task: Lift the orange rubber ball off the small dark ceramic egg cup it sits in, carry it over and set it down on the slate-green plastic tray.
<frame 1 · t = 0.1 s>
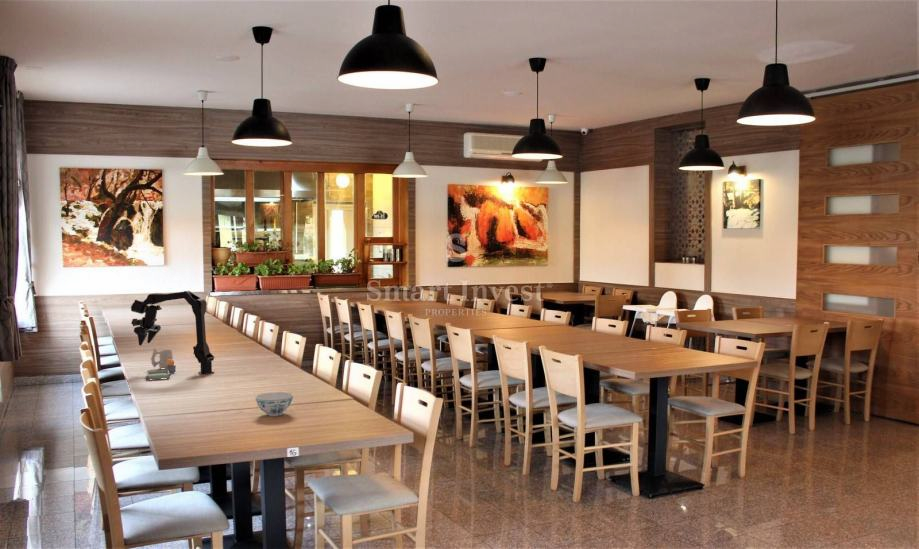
hand: (144, 344, 422), 15 cm above the table, tool pointing down, fingers open, 9 cm apart
tray: (158, 377, 408), on the table
chinaware: (274, 414, 320), on the table
cup: (170, 372, 421), on the table
mug: (162, 368, 436), on the table
ball: (170, 362, 421), point 5 cm above the table, touching cup
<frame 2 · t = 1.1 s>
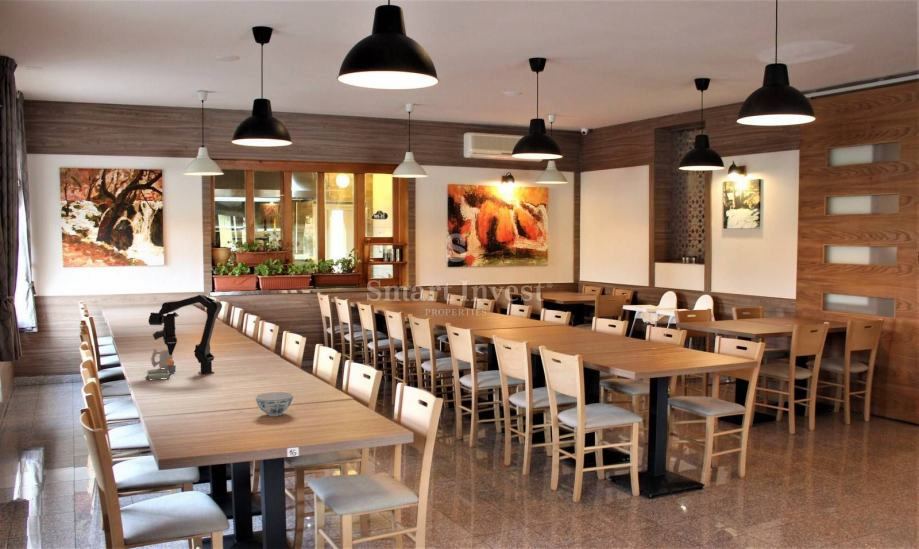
hand: (170, 354, 421), 10 cm above the table, tool pointing down, fingers open, 9 cm apart
nothing on the table moved.
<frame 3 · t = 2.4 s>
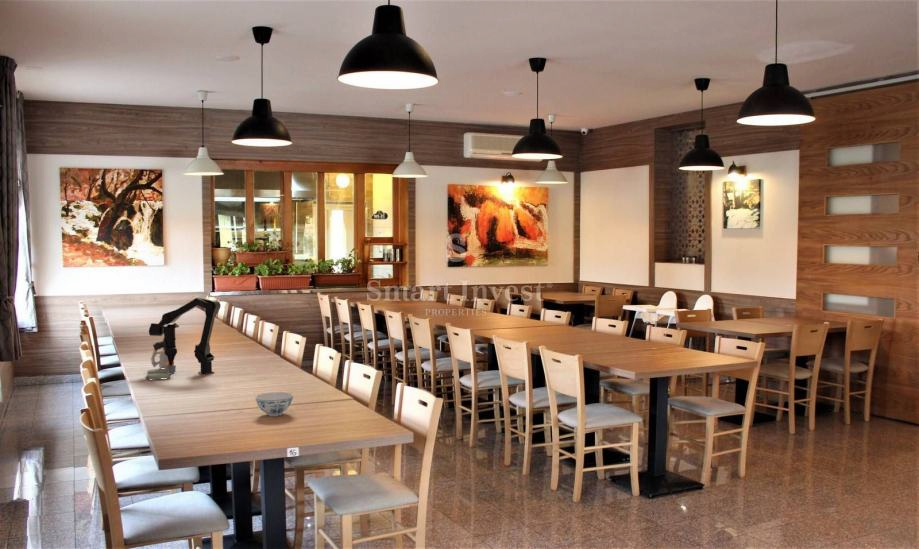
hand: (170, 364, 421), 4 cm above the table, tool pointing down, fingers closed on ball, 4 cm apart
ball: (170, 362, 421), point 5 cm above the table, touching cup, gripper
everything else where it was.
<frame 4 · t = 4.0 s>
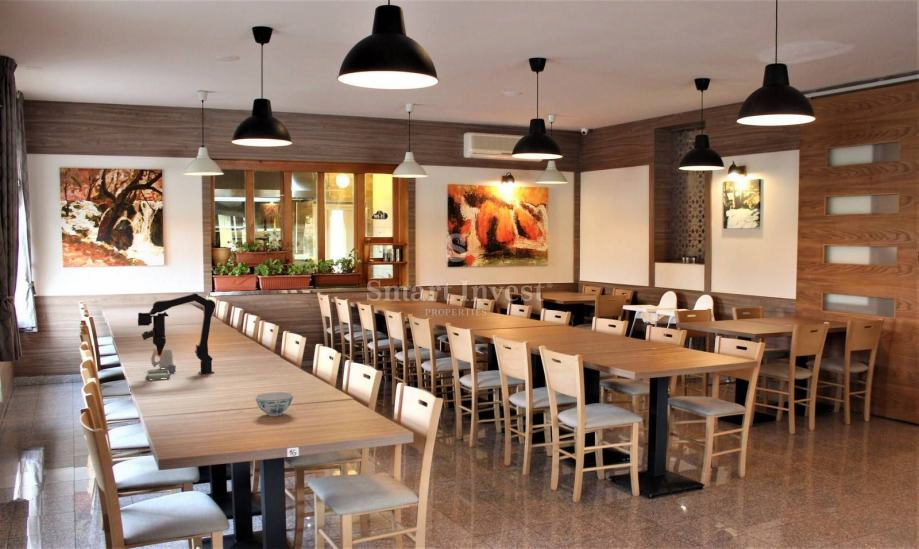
hand: (159, 354, 410), 11 cm above the table, tool pointing down, fingers closed on ball, 4 cm apart
ball: (159, 352, 410), point 13 cm above the table, touching gripper
everything else where it was.
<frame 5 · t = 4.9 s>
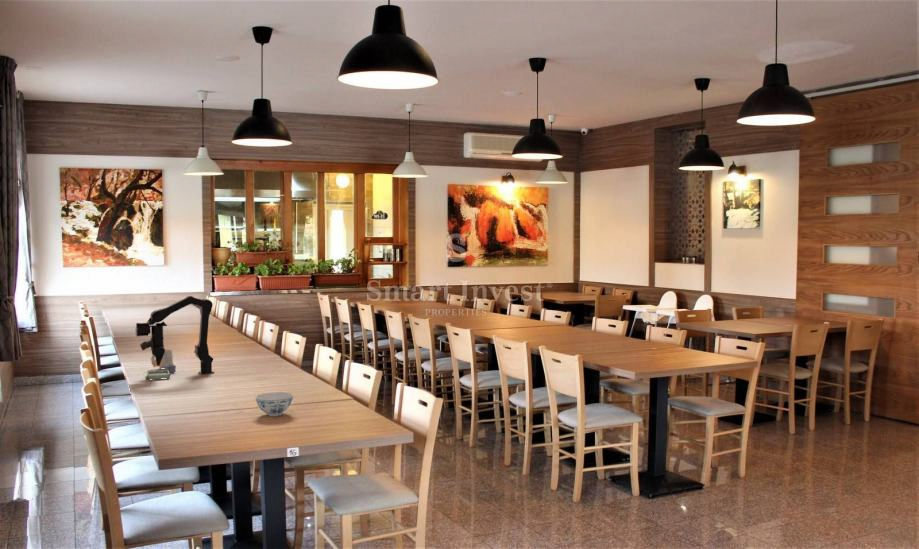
hand: (158, 364, 407), 7 cm above the table, tool pointing down, fingers closed on ball, 4 cm apart
ball: (157, 362, 407), point 8 cm above the table, touching gripper
everything else where it was.
when the fingers open (3 cm above the table, at t = 5.7 s): ball stays where it is, resting on tray.
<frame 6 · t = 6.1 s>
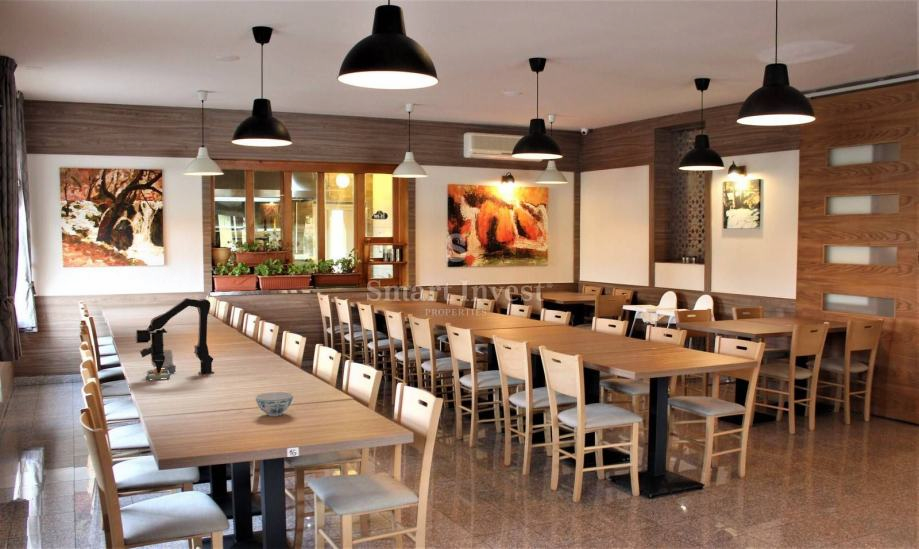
hand: (158, 371, 407), 3 cm above the table, tool pointing down, fingers open, 8 cm apart
ball: (158, 371, 407), point 3 cm above the table, touching tray
everything else where it was.
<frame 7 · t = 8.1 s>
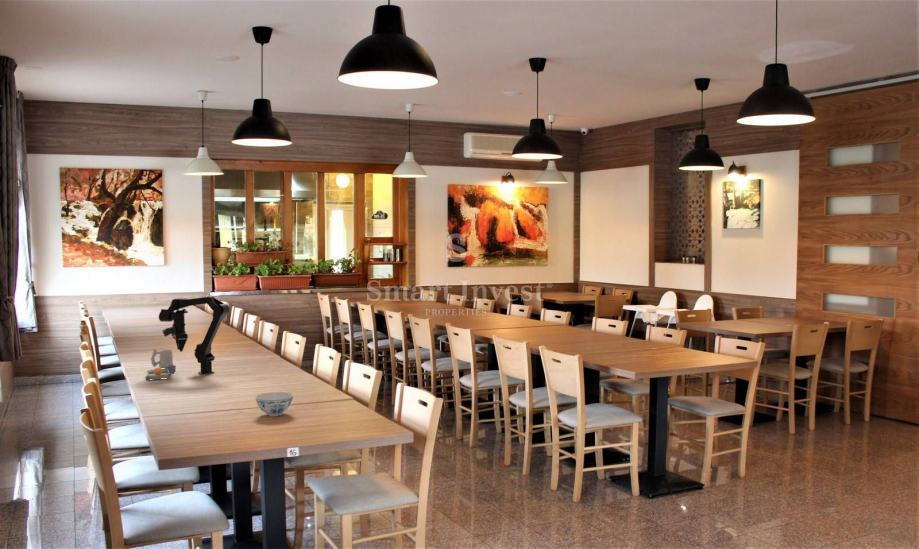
hand: (180, 350, 422), 12 cm above the table, tool pointing down, fingers open, 9 cm apart
nothing on the table moved.
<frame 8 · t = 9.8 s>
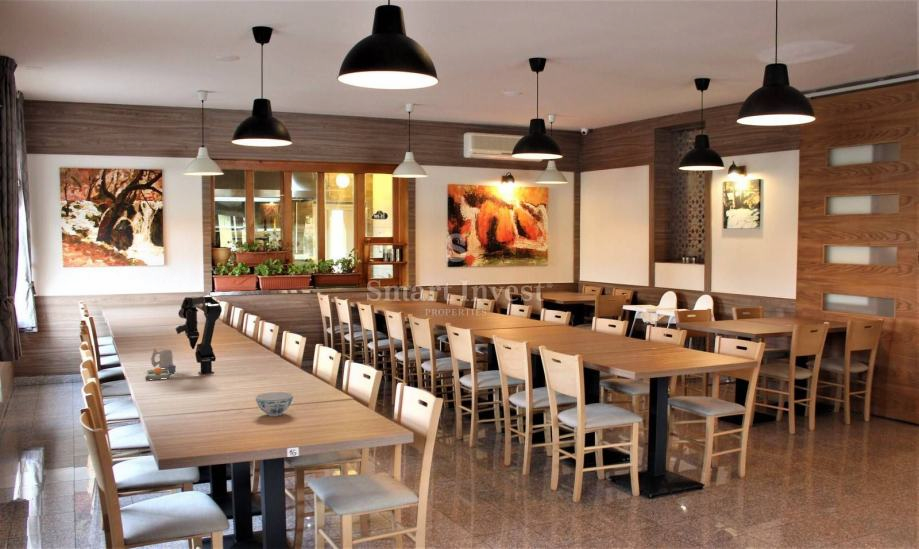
hand: (192, 348, 431), 12 cm above the table, tool pointing down, fingers open, 9 cm apart
nothing on the table moved.
at the end: ball inside the target area on the tray (0.1 cm from its centre), point 3.2 cm above the tray's base; ball touching tray; the gripper is holding nothing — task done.
